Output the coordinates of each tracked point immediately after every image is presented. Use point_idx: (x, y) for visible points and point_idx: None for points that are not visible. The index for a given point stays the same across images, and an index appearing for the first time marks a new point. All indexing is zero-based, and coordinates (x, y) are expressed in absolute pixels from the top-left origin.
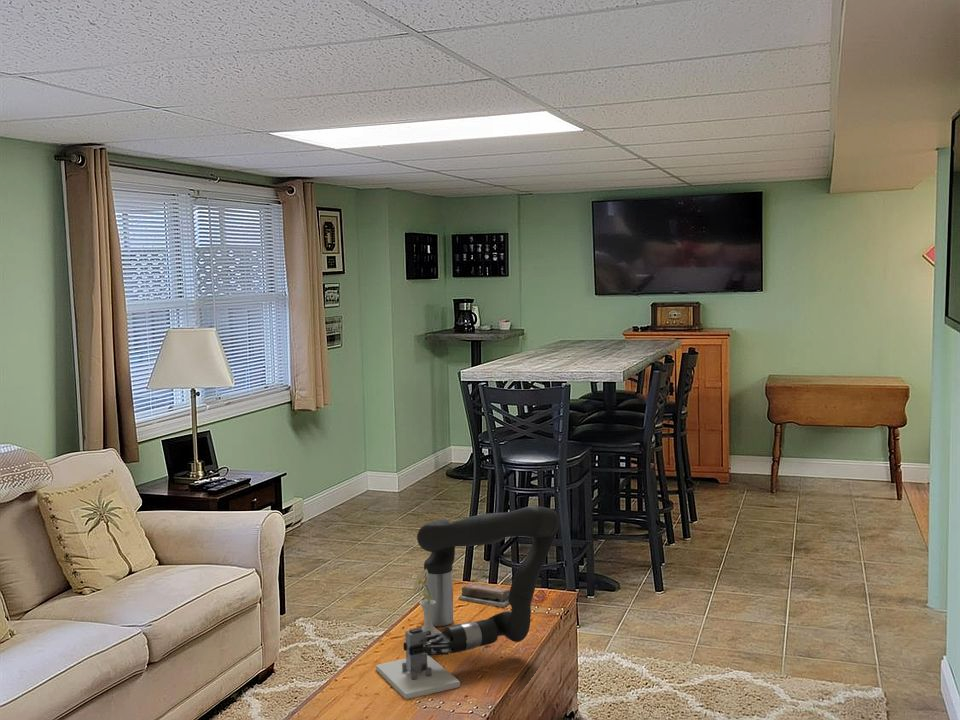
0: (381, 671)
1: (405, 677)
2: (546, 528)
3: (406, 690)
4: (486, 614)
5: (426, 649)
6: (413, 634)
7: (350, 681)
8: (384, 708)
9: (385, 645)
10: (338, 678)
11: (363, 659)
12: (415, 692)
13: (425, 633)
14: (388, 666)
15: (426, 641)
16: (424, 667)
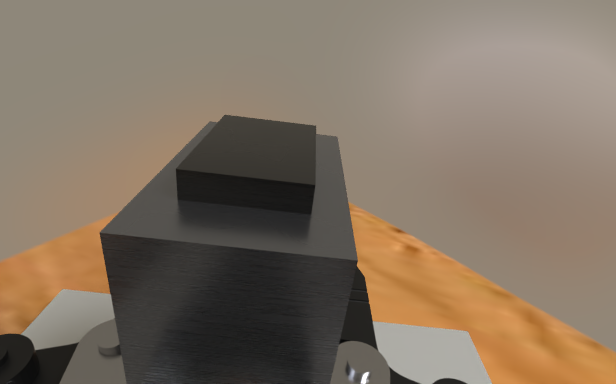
0: (387, 327)
1: None
2: None
3: (86, 306)
4: None
5: (46, 360)
6: (197, 137)
7: (371, 248)
8: (98, 235)
9: None
10: (409, 237)
11: (606, 359)
12: (24, 335)
13: (118, 251)
14: (430, 371)
15: (129, 378)
16: None
